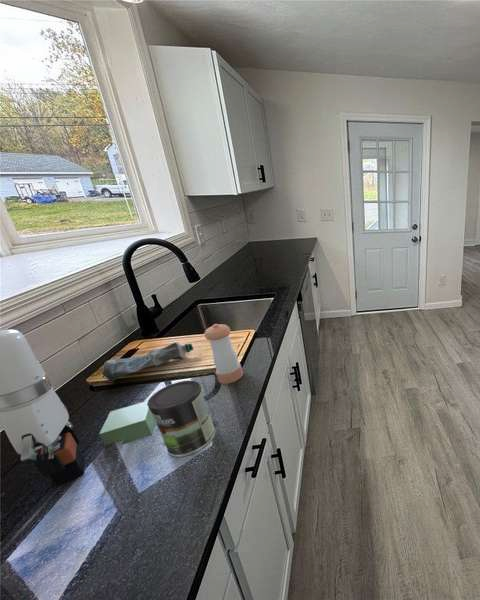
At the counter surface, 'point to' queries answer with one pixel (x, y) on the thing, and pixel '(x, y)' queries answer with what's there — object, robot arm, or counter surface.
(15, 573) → the counter surface
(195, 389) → the coffee can
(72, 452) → the battery
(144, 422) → the block
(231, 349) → the pepper shaker
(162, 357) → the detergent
